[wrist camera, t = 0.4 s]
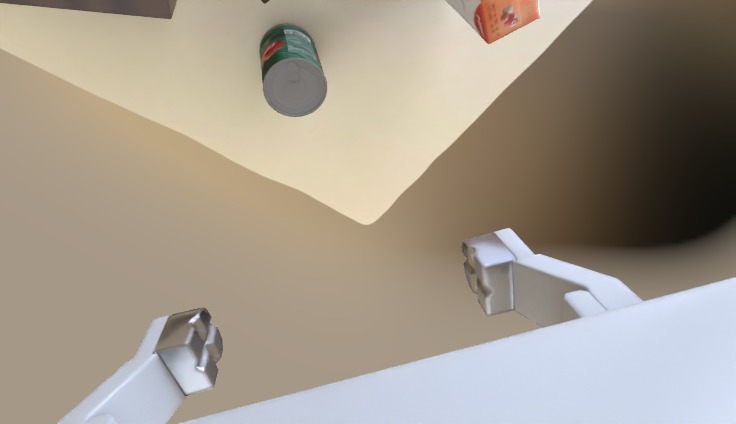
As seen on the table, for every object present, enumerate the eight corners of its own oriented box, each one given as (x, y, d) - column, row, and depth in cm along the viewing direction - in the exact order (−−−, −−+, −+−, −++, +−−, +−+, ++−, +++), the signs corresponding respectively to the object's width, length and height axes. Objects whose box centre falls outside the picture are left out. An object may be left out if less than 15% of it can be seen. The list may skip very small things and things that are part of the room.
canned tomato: (318, 74, 61) (330, 113, 53) (265, 81, 60) (269, 121, 52) (312, 20, 55) (324, 54, 48) (253, 26, 54) (256, 62, 47)
